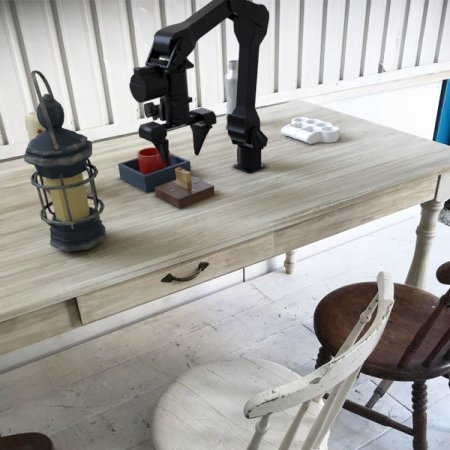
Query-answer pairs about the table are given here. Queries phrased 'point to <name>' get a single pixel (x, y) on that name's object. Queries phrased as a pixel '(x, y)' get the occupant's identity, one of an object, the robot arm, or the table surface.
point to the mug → (150, 161)
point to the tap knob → (183, 178)
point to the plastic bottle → (231, 86)
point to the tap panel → (184, 192)
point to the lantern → (64, 177)
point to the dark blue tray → (148, 182)
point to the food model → (34, 132)
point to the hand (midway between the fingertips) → (181, 160)
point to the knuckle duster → (311, 130)
